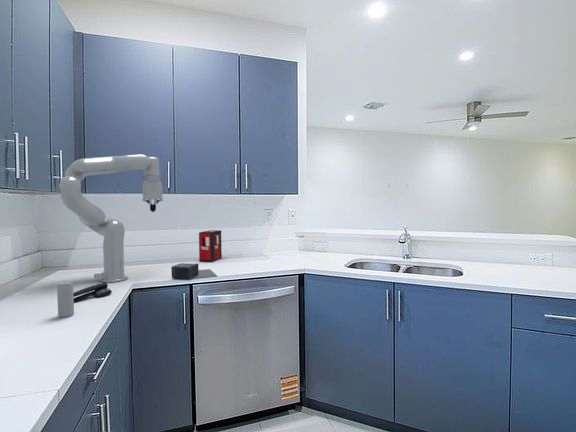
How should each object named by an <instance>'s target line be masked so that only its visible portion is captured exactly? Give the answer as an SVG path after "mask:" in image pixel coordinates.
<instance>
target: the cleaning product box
mask: <svg viewBox="0 0 576 432" xmlns="http://www.w3.org/2000/svg"><path fill="white" fill-rule="evenodd" d="M198 253H199V254H198V255H199V258H198V259H199V260H198V261H199V263H210V264H211V263H214V262H216V261H220V260H221V259H222V256H223V255H222V230H215V229H214V230H212V229H211V230H205V231H204V230H203V231H199V232H198Z"/></svg>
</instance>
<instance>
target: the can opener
mask: <svg viewBox="0 0 576 432" xmlns="http://www.w3.org/2000/svg"><path fill="white" fill-rule="evenodd" d="M112 293H113V292H112V290H111V288H108V283H107V282H101V283H96V284H92V285H91V286H87V287H85V288H81V289H79V290H77V291H73V296H74V304H76V303H77V302H81V301H83V300H85V299H88V298H91V297H96V298H104V297H108V296H109V295H111V294H112Z"/></svg>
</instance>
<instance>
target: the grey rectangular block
mask: <svg viewBox="0 0 576 432" xmlns="http://www.w3.org/2000/svg"><path fill="white" fill-rule="evenodd" d="M73 293H74V283H73V281H71V280H70V281H69V280H67V281H60V282H58V283H57V285H56V297H57V298H56V299H57V316H58V318H70V317H72V316H73V315H74V314H75V303H74V298H75V297H74V296H73Z"/></svg>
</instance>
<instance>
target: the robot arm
mask: <svg viewBox="0 0 576 432" xmlns="http://www.w3.org/2000/svg"><path fill="white" fill-rule="evenodd" d="M133 170H135V171H138V170H144V176H142V177H141V178H142V179H141V180H144V181H143V182H142V183H143V184H142V202H145V203H147V204H149V211H151V213H155V211H157V204H159V203H160V202H163V201H164V199H163V186H162V182H161V181H160V159H159V158H158V157H156V156H147V155H145V154H131V155H129V154H128V155H127V154H126V155H110V156H99V157H97V156H95V157H85V158H79V159H76V160H75V161H73V162H72V163H71V165H70V166H69V167H67V169H66V170H65V171H66V172H65V171H64V172H65V177H63V178H62V179H61V180H60V184H59V186H60V189H61V193H60V199H61V200H62V204H64V206H65V208H67V209H68V210H69V211H71V212H73V213H74V214H75V215H76V216H78V218H79V221H80V222H81V223H82V224H83V225H84V226H86V227H88V228H89V229H90V230H92V231H94V232H95V233H97V234H98V235H99V236H102V237H103V242H102V243H103V244H102V253H103V254H102V255H103V257H102V258H103V259H102V260H103V272H100V273H93V277H94V278H95V279H96V278H100V282H101V283H117V282H123V281H125V280H128V278H129V277H128V275H126V274H125V249H124V246H125V245H124V241H125V240H124V239H125V231H126V230H125V225H124V224H123V223H122V222H121V221H120V220H118V219H112V218H111V219H110V217H107V216H106V214H105V211H104V210H102V209H101V208H99V207H98V206H97V205H96V204H94V203H92V202H91V201H89V200H88V199H87V198H86V197H85V196H83V194H82V191H81V189H82V184H81V182H82V181H83V180H84V179H85V178H86V176H88V177H89V176H97V175H98V176H99V175H105V174H106V175H107V174H117V173H121V172H126V171H133ZM152 200H153V202H152Z"/></svg>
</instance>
